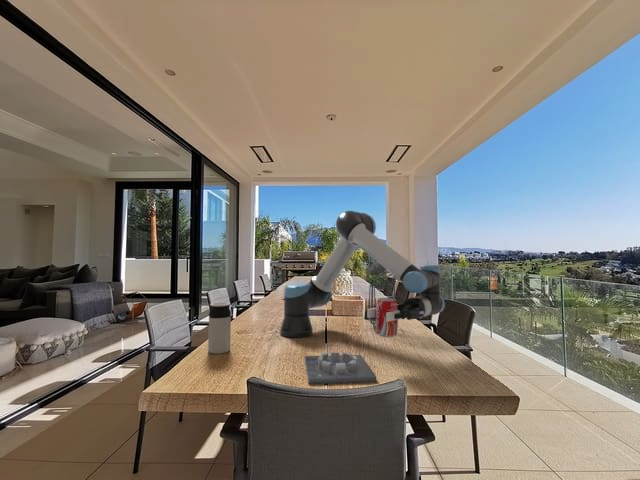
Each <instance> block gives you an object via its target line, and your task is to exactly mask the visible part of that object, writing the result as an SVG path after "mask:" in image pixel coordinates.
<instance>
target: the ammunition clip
mask: <svg viewBox="0 0 640 480" xmlns="http://www.w3.org/2000/svg"><path fill="white" fill-rule="evenodd" d="M378 299H379V297H378V298H376V297H375V302H376V303H377V302H378ZM373 308H375V305H374V304H373ZM367 309H369V299H367V298H365V300H364V314H363V315H364V316H363V319H364V320H369V319H368V317H367ZM370 309H371V304H370ZM370 318H371V317H370ZM372 319H373V320H375V318H372Z"/></svg>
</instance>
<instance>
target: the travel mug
mask: <svg viewBox="0 0 640 480" xmlns="http://www.w3.org/2000/svg"><path fill="white" fill-rule="evenodd" d="M230 305H231V302H228V301H227V302H225V301H217V302H212V303H210V304H209V306H210V310H209V312H208V340H207V342H208V345H207V351H208V353H210V354H213V355H220V354H225V353H228V352H230V351H231V330H232V329H231V328H232V327H231V326H232V325H231V324H232V323H231V321H232V320H231V319H232V317H231V316H232V312H231V310H230Z"/></svg>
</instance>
